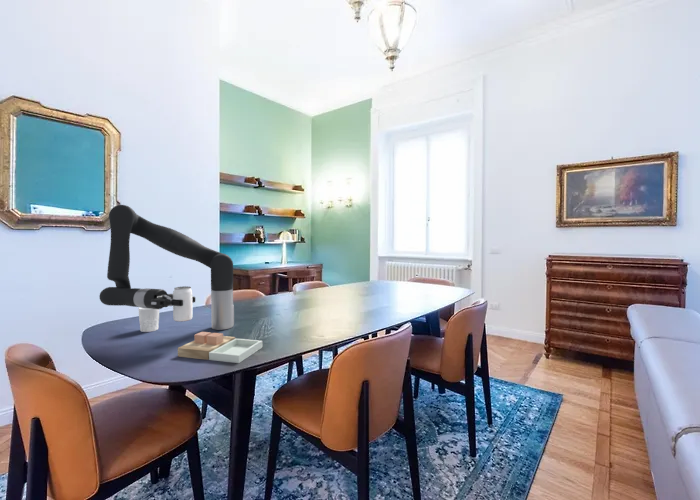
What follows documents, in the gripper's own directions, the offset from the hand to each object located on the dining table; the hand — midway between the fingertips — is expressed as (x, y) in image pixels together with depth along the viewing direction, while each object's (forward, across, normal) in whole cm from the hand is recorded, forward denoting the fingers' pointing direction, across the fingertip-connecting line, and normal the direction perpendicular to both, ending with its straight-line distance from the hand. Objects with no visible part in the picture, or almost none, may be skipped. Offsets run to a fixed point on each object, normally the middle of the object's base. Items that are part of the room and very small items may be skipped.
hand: (188, 301), depth 125 cm
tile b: (+12, -1, +14) cm, 18 cm away
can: (-2, 0, +7) cm, 8 cm away
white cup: (-32, +15, +18) cm, 40 cm away
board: (+9, -1, +17) cm, 19 cm away
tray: (+21, -1, +17) cm, 27 cm away
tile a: (+7, -1, +14) cm, 16 cm away
